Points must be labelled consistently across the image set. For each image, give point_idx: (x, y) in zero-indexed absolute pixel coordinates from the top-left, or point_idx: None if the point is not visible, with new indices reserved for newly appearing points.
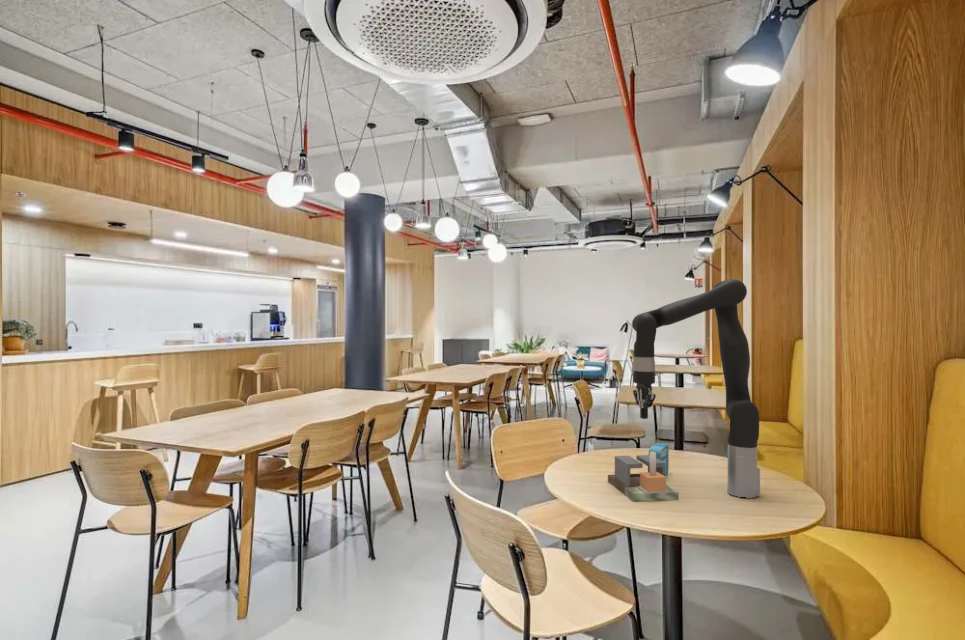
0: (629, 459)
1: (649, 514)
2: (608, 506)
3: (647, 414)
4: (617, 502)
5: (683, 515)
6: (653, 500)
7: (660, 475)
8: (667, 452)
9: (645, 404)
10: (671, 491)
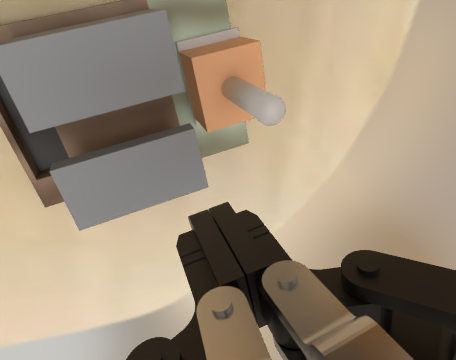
0: (129, 174)
1: (323, 110)
2: (272, 197)
3: (263, 226)
4: (246, 176)
5: (336, 19)
6: None
7: (239, 58)
8: None
9: (402, 332)
10: (216, 7)
